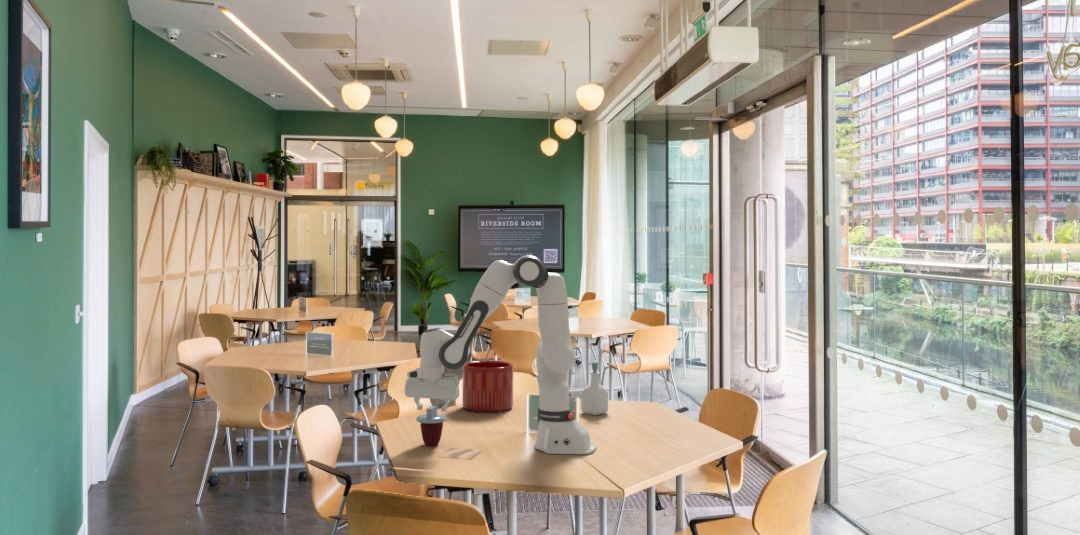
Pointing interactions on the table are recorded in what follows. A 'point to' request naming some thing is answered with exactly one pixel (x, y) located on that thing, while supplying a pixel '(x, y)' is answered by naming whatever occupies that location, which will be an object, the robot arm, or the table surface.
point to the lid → (431, 416)
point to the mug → (431, 433)
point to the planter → (487, 386)
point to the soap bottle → (594, 395)
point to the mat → (461, 453)
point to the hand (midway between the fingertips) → (431, 410)
